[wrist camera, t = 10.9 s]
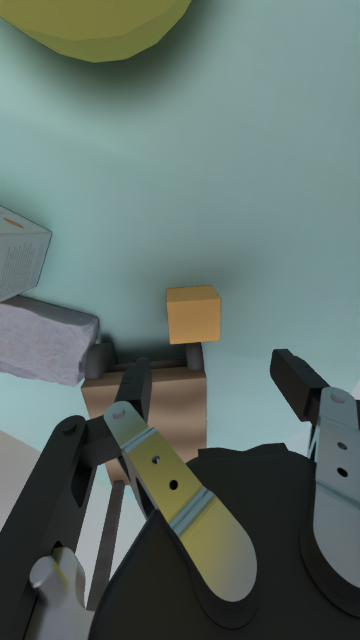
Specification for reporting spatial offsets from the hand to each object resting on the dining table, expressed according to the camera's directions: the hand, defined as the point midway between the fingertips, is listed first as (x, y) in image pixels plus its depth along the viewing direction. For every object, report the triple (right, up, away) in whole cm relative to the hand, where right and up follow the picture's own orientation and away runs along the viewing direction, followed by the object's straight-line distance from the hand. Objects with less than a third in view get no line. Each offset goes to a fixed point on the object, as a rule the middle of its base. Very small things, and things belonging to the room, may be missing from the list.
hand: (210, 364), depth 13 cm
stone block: (-18, +1, +12) cm, 22 cm away
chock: (-1, +5, +11) cm, 12 cm away
